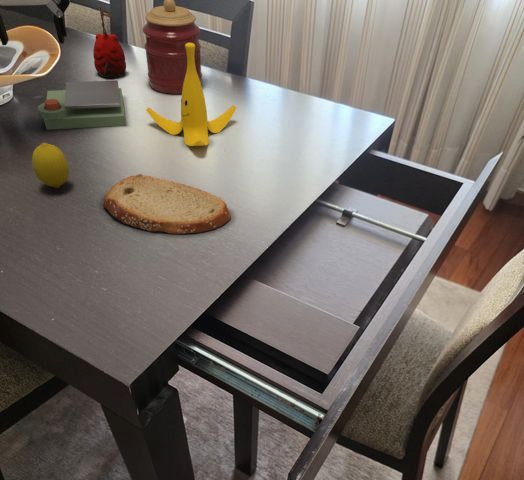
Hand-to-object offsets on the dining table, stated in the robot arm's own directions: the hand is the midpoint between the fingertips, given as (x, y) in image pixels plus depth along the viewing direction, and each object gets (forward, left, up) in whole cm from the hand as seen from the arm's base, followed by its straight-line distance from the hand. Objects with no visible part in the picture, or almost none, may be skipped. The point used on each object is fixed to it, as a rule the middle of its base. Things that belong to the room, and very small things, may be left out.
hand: (34, 42), depth 87 cm
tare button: (0, +4, -13) cm, 14 cm away
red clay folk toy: (+12, +31, -17) cm, 37 cm away
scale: (+6, +9, -16) cm, 19 cm away
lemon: (+1, -22, -17) cm, 28 cm away
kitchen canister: (+27, +23, -17) cm, 39 cm away
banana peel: (+30, -3, -16) cm, 34 cm away
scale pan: (+8, +9, -13) cm, 17 cm away
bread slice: (+19, -32, -16) cm, 41 cm away
